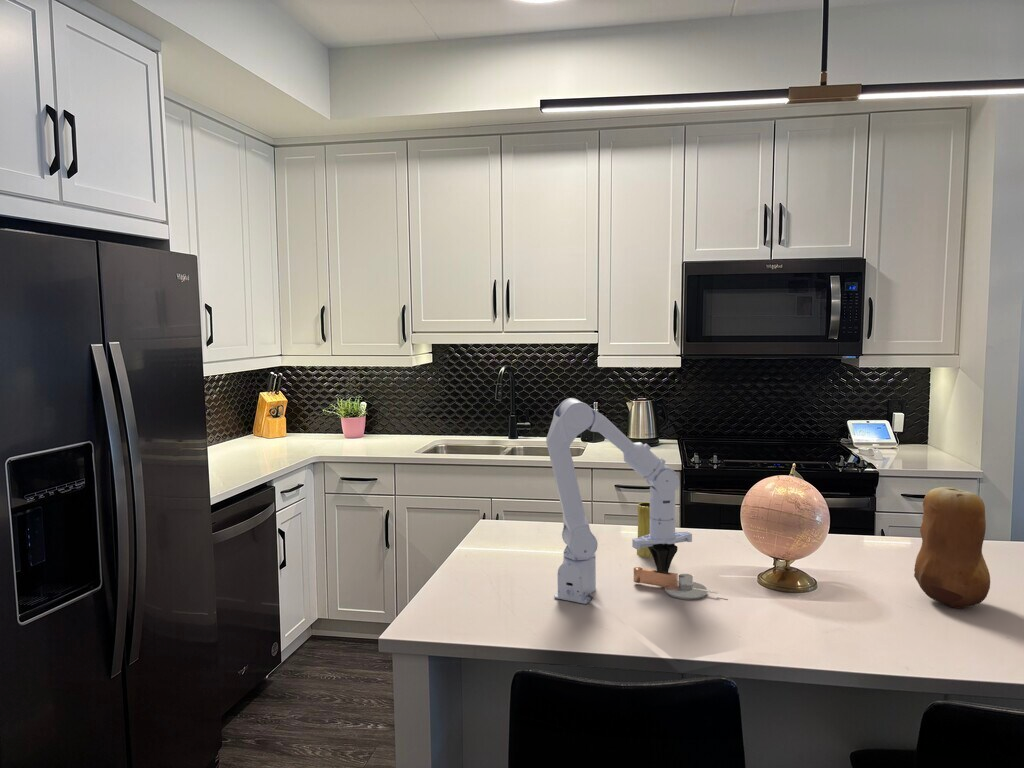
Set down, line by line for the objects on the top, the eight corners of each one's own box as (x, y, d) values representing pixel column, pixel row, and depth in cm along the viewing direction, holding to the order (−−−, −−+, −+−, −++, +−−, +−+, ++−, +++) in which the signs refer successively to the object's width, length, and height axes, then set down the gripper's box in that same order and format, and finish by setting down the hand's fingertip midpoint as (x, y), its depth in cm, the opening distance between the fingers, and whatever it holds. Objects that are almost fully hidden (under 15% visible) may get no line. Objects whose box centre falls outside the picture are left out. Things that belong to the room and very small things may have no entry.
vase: (633, 560, 187) (633, 506, 186) (640, 553, 193) (640, 500, 192) (656, 563, 185) (656, 508, 183) (663, 556, 190) (663, 502, 189)
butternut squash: (987, 599, 158) (992, 485, 156) (990, 621, 147) (995, 499, 145) (914, 588, 165) (917, 479, 163) (912, 608, 154) (915, 492, 152)
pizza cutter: (722, 590, 162) (722, 574, 162) (712, 604, 154) (712, 587, 154) (640, 577, 171) (640, 562, 171) (627, 590, 164) (627, 574, 163)
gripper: (643, 525, 160) (643, 585, 161) (699, 518, 165) (699, 576, 166) (627, 517, 167) (627, 575, 168) (682, 510, 172) (682, 567, 173)
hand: (662, 575), depth 168 cm, fingers closed
